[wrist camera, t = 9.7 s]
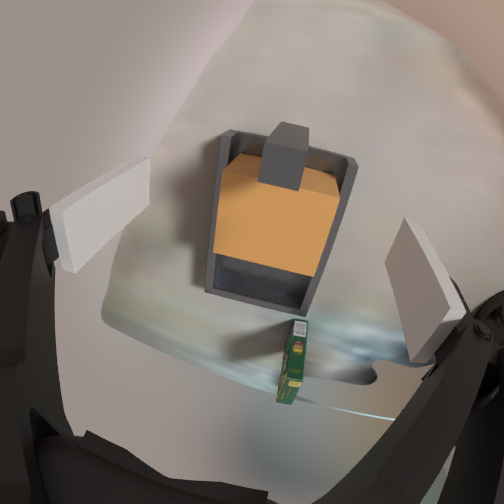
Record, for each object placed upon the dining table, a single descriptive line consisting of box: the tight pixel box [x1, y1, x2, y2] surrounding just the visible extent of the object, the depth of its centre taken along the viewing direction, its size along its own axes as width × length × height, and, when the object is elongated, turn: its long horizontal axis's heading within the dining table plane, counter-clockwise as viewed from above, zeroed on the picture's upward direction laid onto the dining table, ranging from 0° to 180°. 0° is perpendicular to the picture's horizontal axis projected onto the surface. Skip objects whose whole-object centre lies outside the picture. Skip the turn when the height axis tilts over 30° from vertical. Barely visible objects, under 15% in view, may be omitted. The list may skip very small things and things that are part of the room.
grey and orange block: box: [213, 122, 340, 277], centre depth 30 cm, size 16×12×16 cm
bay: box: [205, 130, 359, 317], centre depth 40 cm, size 24×16×4 cm, turn 171°
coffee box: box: [276, 319, 308, 404], centre depth 46 cm, size 8×3×13 cm, turn 173°
